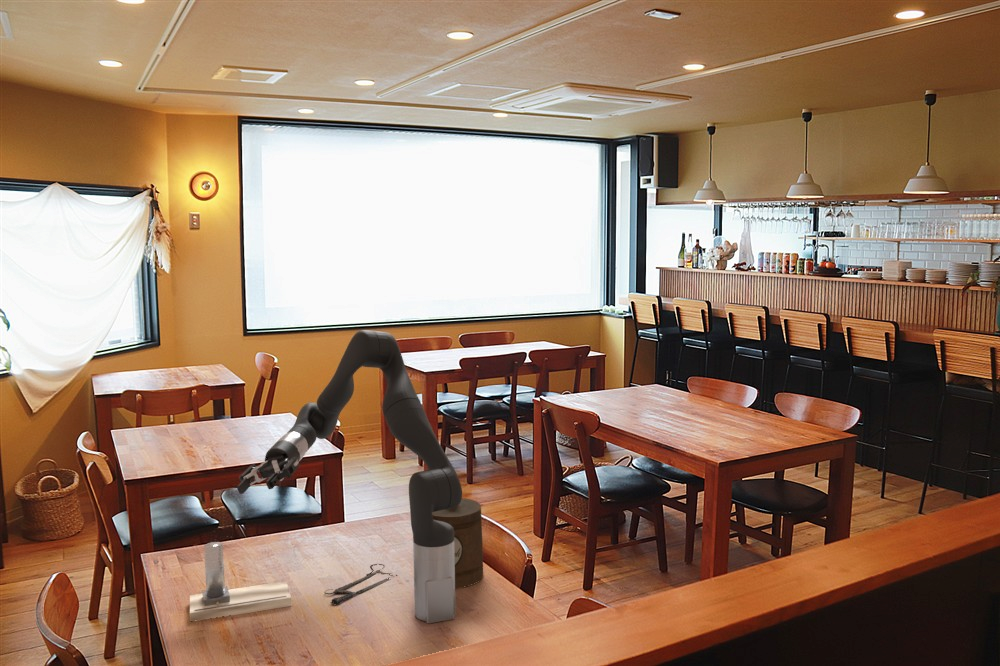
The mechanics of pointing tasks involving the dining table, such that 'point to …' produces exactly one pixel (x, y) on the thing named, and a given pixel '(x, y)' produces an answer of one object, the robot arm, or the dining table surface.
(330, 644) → the dining table surface
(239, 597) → the birch board
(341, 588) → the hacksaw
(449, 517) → the wooden container
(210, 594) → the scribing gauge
